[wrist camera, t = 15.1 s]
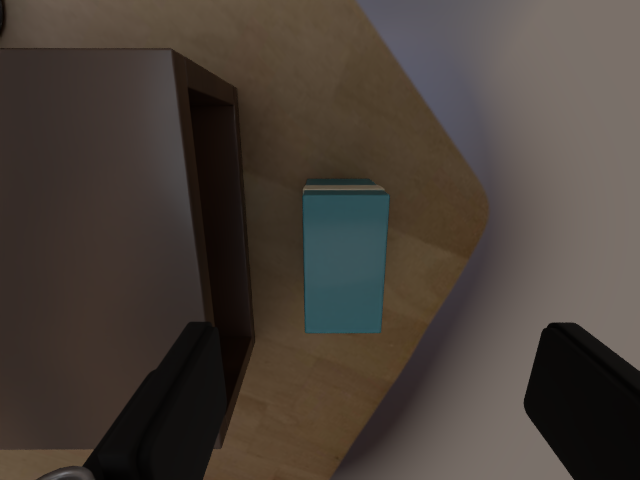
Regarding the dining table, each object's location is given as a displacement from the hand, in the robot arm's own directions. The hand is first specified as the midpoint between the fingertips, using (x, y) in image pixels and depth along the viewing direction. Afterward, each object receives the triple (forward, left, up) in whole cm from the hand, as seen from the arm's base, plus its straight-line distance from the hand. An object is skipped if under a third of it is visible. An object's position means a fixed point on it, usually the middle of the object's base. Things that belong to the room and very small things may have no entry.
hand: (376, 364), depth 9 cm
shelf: (+15, 0, -16) cm, 22 cm away
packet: (0, +1, -16) cm, 16 cm away
